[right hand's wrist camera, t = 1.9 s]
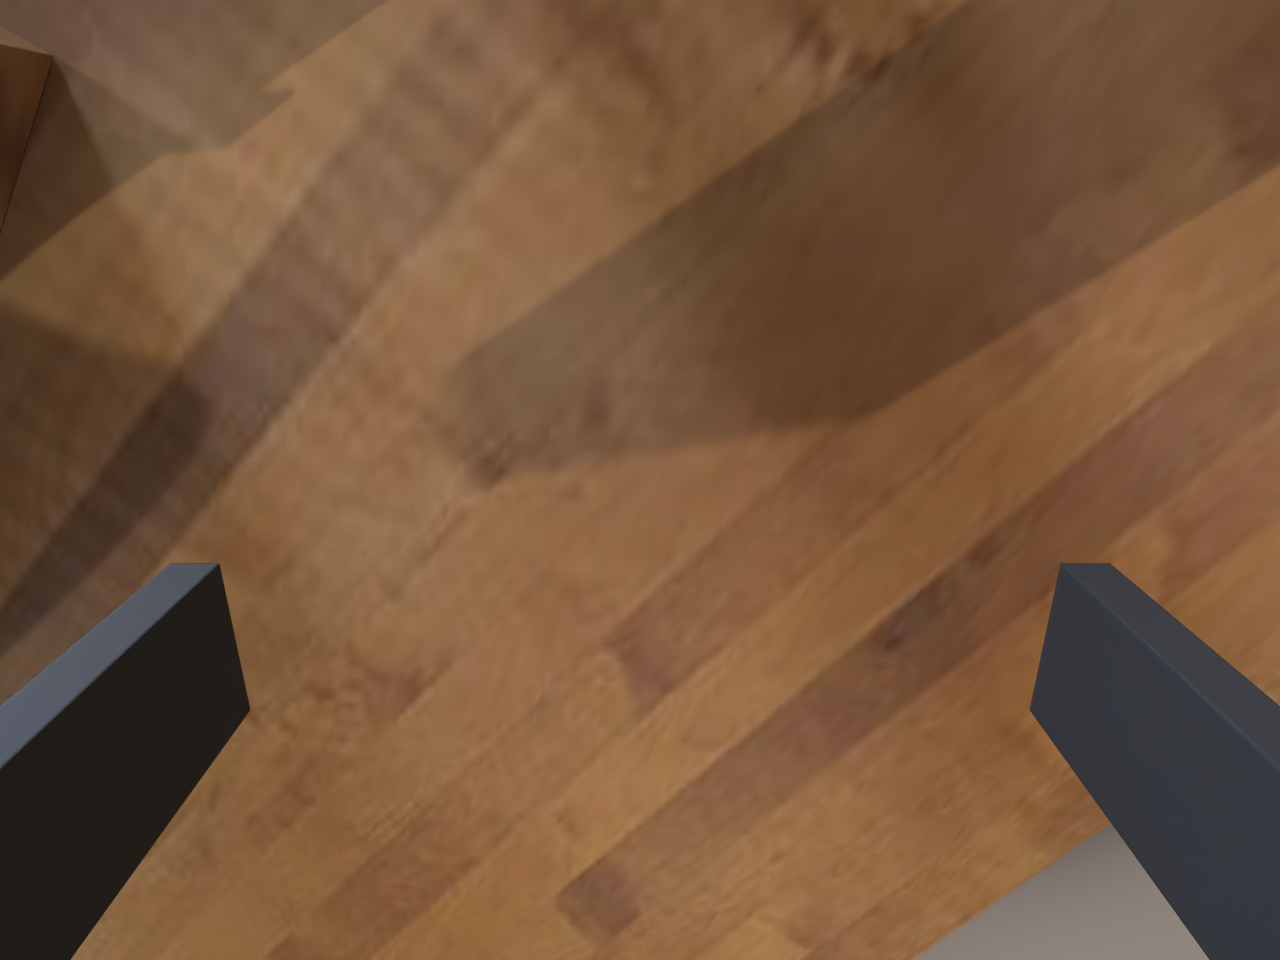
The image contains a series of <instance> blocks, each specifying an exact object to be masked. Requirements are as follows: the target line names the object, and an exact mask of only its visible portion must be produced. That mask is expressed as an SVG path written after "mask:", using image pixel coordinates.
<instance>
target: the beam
mask: <svg viewBox="0 0 1280 960" xmlns="http://www.w3.org/2000/svg"><path fill="white" fill-rule="evenodd" d="M52 58H53V56H52V55H51V54H50V53H48V52H46V51H45V50H43V49H41V48H39V47H38V46H36V45H34V44H32V43H31V42H29V41H27V40H25V39H24V38H22V37H20V36H19V35H17V34H15V33H13V32H12V31H10V30H8V29H6V28H5V27H3V26H1V25H0V231H1V228H2V224H3V221H4V218H5V214H6V211H7V208H8V204H9V201H10V198H11V194H12V191H13V188H14V184H15V181H16V178H17V174H18V171H19V168H20V164H21V161H22V158H23V155H24V151H25V148H26V145H27V141H28V138H29V135H30V131H31V128H32V125H33V121H34V118H35V115H36V111H37V108H38V105H39V101H40V98H41V95H42V91H43V88H44V85H45V82H46V78H47V75H48V72H49V68H50V65H51V62H52Z"/></svg>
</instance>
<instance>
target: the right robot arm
mask: <svg viewBox="0 0 1280 960" xmlns="http://www.w3.org/2000/svg"><path fill="white" fill-rule="evenodd" d="M249 711H250V706H249V701H248V697H247V692H246V687H245V683H244V678H243V673H242V668H241V664H240V659H239V654H238V649H237V645H236V640H235V635H234V630H233V626H232V621H231V616H230V612H229V607H228V602H227V597H226V593H225V588H224V583H223V578H222V574H221V569H220V564H219V563H170V564H169V565H168V566H167V567H165V568H164V569H163V570H162V571H161V572H159V573H158V574H157V575H156V576H155V577H153V578H152V579H151V580H150V581H149V582H147V583H146V584H145V585H144V586H143V587H142V588H140V589H139V590H138V591H137V592H136V593H134V594H133V595H132V596H131V597H130V598H128V599H127V600H126V601H125V602H124V603H122V604H121V605H120V606H119V607H118V608H116V609H115V610H114V611H113V612H112V613H111V614H109V615H108V616H107V617H106V618H105V619H103V620H102V621H101V622H100V623H99V624H97V625H96V626H95V627H94V628H93V629H91V630H90V631H89V632H88V633H87V634H86V635H84V636H83V637H82V638H81V639H80V640H78V641H77V642H76V643H75V644H74V645H72V646H71V647H70V648H69V649H68V650H66V651H65V652H64V653H63V654H62V655H61V656H59V657H58V658H57V659H56V660H55V661H53V662H52V663H51V664H50V665H49V666H47V667H46V668H45V669H44V670H43V671H41V672H40V673H39V674H38V675H37V676H36V677H34V678H33V679H32V680H31V681H30V682H28V683H27V684H26V685H25V686H24V687H22V688H21V689H20V690H19V691H18V692H16V693H15V694H14V695H13V696H12V697H11V698H9V699H8V700H7V701H6V702H5V703H3V704H2V705H1V706H0V960H71V958H72V957H73V955H74V954H75V953H76V951H77V950H78V948H79V947H80V946H81V944H82V943H83V941H84V940H85V939H86V937H87V936H88V935H89V933H90V932H91V930H92V929H93V928H94V926H95V925H96V923H97V922H98V921H99V919H100V918H101V916H102V915H103V914H104V912H105V911H106V910H107V908H108V907H109V905H110V904H111V903H112V901H113V900H114V898H115V897H116V896H117V894H118V893H119V891H120V890H121V889H122V887H123V886H124V885H125V883H126V882H127V880H128V879H129V878H130V876H131V875H132V873H133V872H134V871H135V869H136V868H137V866H138V865H139V864H140V862H141V861H142V860H143V858H144V857H145V855H146V854H147V853H148V851H149V850H150V848H151V847H152V846H153V844H154V843H155V842H156V840H157V839H158V837H159V836H160V835H161V833H162V832H163V830H164V829H165V828H166V826H167V825H168V823H169V822H170V821H171V819H172V818H173V817H174V815H175V814H176V812H177V811H178V810H179V808H180V807H181V805H182V804H183V803H184V801H185V800H186V798H187V797H188V796H189V794H190V793H191V792H192V790H193V789H194V787H195V786H196V785H197V783H198V782H199V780H200V779H201V778H202V776H203V775H204V773H205V772H206V771H207V769H208V768H209V767H210V765H211V764H212V762H213V761H214V760H215V758H216V757H217V755H218V754H219V753H220V751H221V750H222V748H223V747H224V746H225V744H226V743H227V742H228V740H229V739H230V737H231V736H232V735H233V733H234V732H235V730H236V729H237V728H238V726H239V725H240V724H241V722H242V721H243V719H244V718H245V717H246V715H247V714H248V712H249ZM1030 711H1031V712H1032V714H1033V715H1034V717H1035V718H1036V719H1037V721H1038V722H1039V724H1040V725H1041V726H1042V728H1043V729H1044V730H1045V732H1046V733H1047V735H1048V736H1049V737H1050V739H1051V740H1052V742H1053V743H1054V744H1055V746H1056V747H1057V748H1058V750H1059V751H1060V753H1061V754H1062V755H1063V757H1064V758H1065V760H1066V761H1067V762H1068V764H1069V765H1070V767H1071V768H1072V769H1073V771H1074V772H1075V773H1076V775H1077V776H1078V778H1079V779H1080V780H1081V782H1082V783H1083V785H1084V786H1085V787H1086V789H1087V790H1088V792H1089V793H1090V794H1091V796H1092V797H1093V798H1094V800H1095V801H1096V803H1097V804H1098V805H1099V807H1100V808H1101V810H1102V811H1103V812H1104V814H1105V815H1106V817H1107V818H1108V819H1109V821H1110V822H1111V823H1112V825H1113V826H1114V828H1115V829H1116V830H1117V832H1118V833H1119V834H1120V836H1121V837H1122V839H1123V840H1124V842H1125V843H1126V844H1127V846H1128V847H1129V848H1130V850H1131V851H1132V853H1133V854H1134V855H1135V857H1136V858H1137V859H1138V861H1139V862H1140V864H1141V865H1142V866H1143V868H1144V869H1145V871H1146V872H1147V873H1148V875H1149V876H1150V878H1151V879H1152V880H1153V882H1154V883H1155V885H1156V886H1157V887H1158V889H1159V890H1160V891H1161V893H1162V894H1163V896H1164V897H1165V898H1166V900H1167V901H1168V903H1169V904H1170V905H1171V907H1172V908H1173V909H1174V911H1175V912H1176V914H1177V915H1178V916H1179V918H1180V919H1181V921H1182V922H1183V923H1184V925H1185V926H1186V928H1187V929H1188V930H1189V932H1190V933H1191V935H1192V936H1193V937H1194V939H1195V940H1196V941H1197V943H1198V944H1199V946H1200V947H1201V948H1202V950H1203V951H1204V952H1205V954H1206V955H1207V957H1208V958H1209V959H1210V960H1280V706H1279V705H1278V704H1277V703H1275V702H1274V701H1273V700H1272V699H1271V698H1269V697H1268V696H1267V695H1266V694H1265V693H1264V692H1262V691H1261V690H1260V689H1259V688H1258V687H1256V686H1255V685H1254V684H1253V683H1252V682H1250V681H1249V680H1248V679H1247V678H1246V677H1244V676H1243V675H1242V674H1241V673H1240V672H1239V671H1237V670H1236V669H1235V668H1234V667H1233V666H1231V665H1230V664H1229V663H1228V662H1227V661H1225V660H1224V659H1223V658H1222V657H1221V656H1219V655H1218V654H1217V653H1216V652H1215V651H1214V650H1212V649H1211V648H1210V647H1209V646H1208V645H1206V644H1205V643H1204V642H1203V641H1202V640H1200V639H1199V638H1198V637H1197V636H1196V635H1194V634H1193V633H1192V632H1191V631H1190V630H1189V629H1187V628H1186V627H1185V626H1184V625H1183V624H1181V623H1180V622H1179V621H1178V620H1177V619H1175V618H1174V617H1173V616H1172V615H1171V614H1169V613H1168V612H1167V611H1166V610H1165V609H1163V608H1162V607H1161V606H1160V605H1159V604H1158V603H1156V602H1155V601H1154V600H1153V599H1152V598H1150V597H1149V596H1148V595H1147V594H1146V593H1144V592H1143V591H1142V590H1141V589H1140V588H1138V587H1137V586H1136V585H1135V584H1134V583H1133V582H1131V581H1130V580H1129V579H1128V578H1127V577H1125V576H1124V575H1123V574H1122V573H1121V572H1119V571H1118V570H1117V569H1116V568H1115V567H1113V566H1112V565H1111V564H1110V563H1061V564H1060V569H1059V574H1058V578H1057V583H1056V588H1055V593H1054V597H1053V602H1052V607H1051V612H1050V616H1049V621H1048V626H1047V630H1046V635H1045V640H1044V645H1043V649H1042V654H1041V659H1040V664H1039V668H1038V673H1037V678H1036V683H1035V687H1034V692H1033V697H1032V701H1031V706H1030Z"/></svg>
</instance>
